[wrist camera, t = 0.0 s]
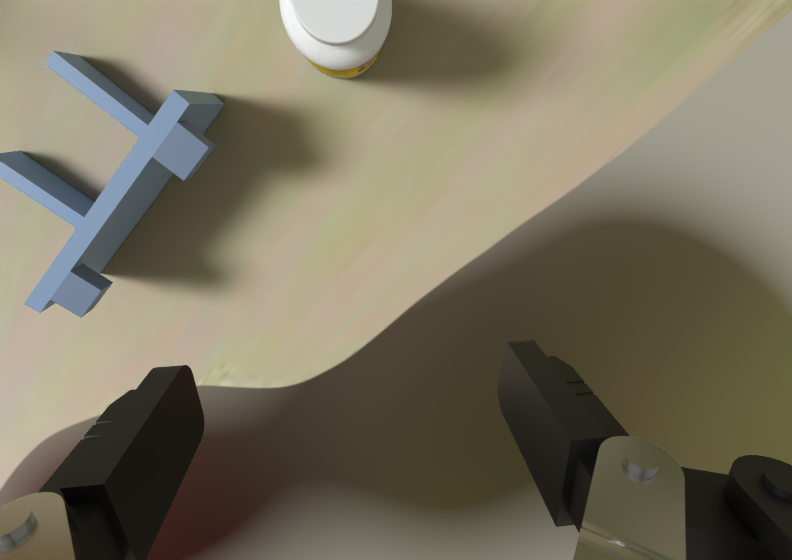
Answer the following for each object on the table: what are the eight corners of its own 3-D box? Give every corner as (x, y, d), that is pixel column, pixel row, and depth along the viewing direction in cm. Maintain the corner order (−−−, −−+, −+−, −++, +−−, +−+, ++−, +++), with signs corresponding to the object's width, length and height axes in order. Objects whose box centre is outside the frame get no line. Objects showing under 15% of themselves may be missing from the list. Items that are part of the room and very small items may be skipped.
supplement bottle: (362, 94, 35) (365, 88, 23) (286, 54, 33) (248, 26, 21) (396, 11, 33) (419, -43, 21) (317, -36, 31) (295, -122, 19)
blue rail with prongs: (-13, 202, 35) (-109, 228, 28) (109, 4, 31) (33, -27, 24) (123, 289, 39) (71, 330, 32) (249, 125, 35) (221, 130, 28)
